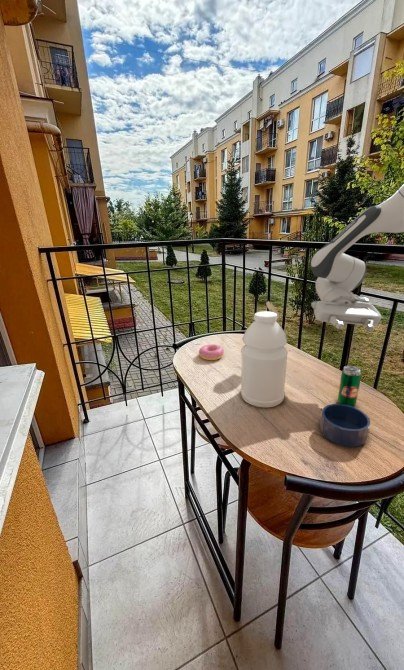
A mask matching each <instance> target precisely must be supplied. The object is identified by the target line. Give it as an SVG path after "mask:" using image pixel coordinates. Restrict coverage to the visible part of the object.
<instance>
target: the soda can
mask: <svg viewBox="0 0 404 670" xmlns="http://www.w3.org/2000/svg"><path fill="white" fill-rule="evenodd" d="M361 378H362V372H361V368H359V367H358V366H355V365H345V366H344V367H343V369H342V370H341V374H340V381H339V387H338V395H337V402H338V403H337V404H344V405H349V406H352V407H355V406H356V405H357V401H358V395H359V391H360V390H359V389H360V385H361V384H360V383H361Z"/></svg>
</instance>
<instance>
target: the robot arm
mask: <svg viewBox="0 0 404 670" xmlns="http://www.w3.org/2000/svg"><path fill="white" fill-rule="evenodd" d="M376 233H377V234H378V233H389V234H390V233H392V234H400V233H404V183H403V184H402V185H401V186H400V187H399V189H397V190H396V192H395V193H394V194H393V195H391V196H390V197H389V198H387V199H386V200H384V201H383V202H381V203H380V204H377V205H373V206H370V207H367V208H366V209H365V210H363V212H361V213H360V214H359V215H358V216H357V217H356V218H354V219H353V220H352V221H351V222H350V223H349V224H348V225H347V226H346V227H345V228H343V229H342V231H340V232H339V233H338V234H337V235H336V236H335V237H333V238H332V239H331V240H330V241H329V242H328V243H326V244H325V245H324V246H322V247H321V248H319V249H318V250H317V251H316V252H315V253H314V254H313V256H312V257H311V259H310V263H309V264H310V270H311V272H312V274H313V276H314V277H316V280H315V291H316V294H317V296H318V297H319V299H320V300H313V302H312V301H311V303H310V306H311V308H312V309H313V314H314V317H315V319H316V320H317V321H319V322H325V323H329V324H331V325H333V326H334V327H335V328H336V330H343V328H344V327H345V324H347V325H348V324H350V325H359V326H360V325H361V326H365V328H364V329H365V331H366V332H370V333H372V332H374V330H375V327H377V325H378V324H379V323H380V322H381V320H382V317H383V316H382V314H381V313H380V311H379V310H378V309H377V308H376V307H375V306H374V305H373V304H372V303H370V300H369V298H368V297H364V296H361V295H357V294H356V293H355V294H354V293H353V291H354V290H355V289H356V288H358V287H359V286H360V285H361V284H362V283H363V282H364V280H365V278H366V276H367V264H366V262H365V261H363V260H361V259H359V258H357V257H355V256H352V255H349V254H346V253H345V252H346V251H347V250H348V249H349V248H351V247H352V246H353V245H355V243H356V242H358V241H359V240H360V239H361V238H363V237H365V236H368V235H372V234H376Z"/></svg>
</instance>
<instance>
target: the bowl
mask: <svg viewBox="0 0 404 670" xmlns="http://www.w3.org/2000/svg"><path fill="white" fill-rule="evenodd" d="M370 427H371V419H370V418H369V416H368V414H366V413H365V412H364V411H363V410H361V409H359V408H357V407H355V406H354V407H352V406H349V405H344V404H339V403H331V404H327V405H325V406H324V407H323V408H322V409H321V414H320V423H319V430H320V432H321V434H322V436H324V438H326V439H327V440H328V441H330V442H332V443H334V444H336V445H338V446H341V447H345V448H346V447H347V448H358V447H361V446H363V445H364V444H366V443H367V441H368V437H369V432H370Z"/></svg>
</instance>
